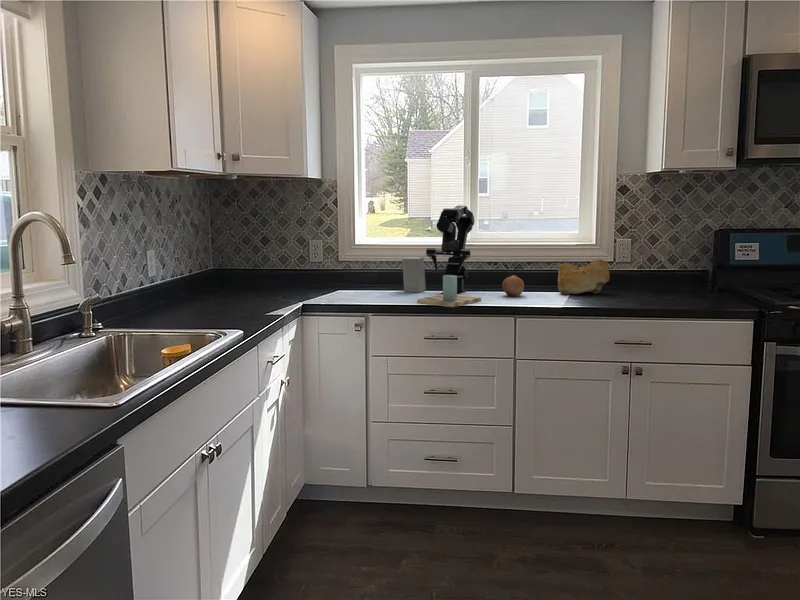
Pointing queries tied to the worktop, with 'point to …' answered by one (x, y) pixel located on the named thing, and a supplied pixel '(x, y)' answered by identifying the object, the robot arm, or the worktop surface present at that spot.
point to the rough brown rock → (583, 277)
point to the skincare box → (413, 274)
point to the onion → (513, 286)
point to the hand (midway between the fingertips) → (447, 272)
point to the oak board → (439, 301)
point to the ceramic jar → (449, 288)
